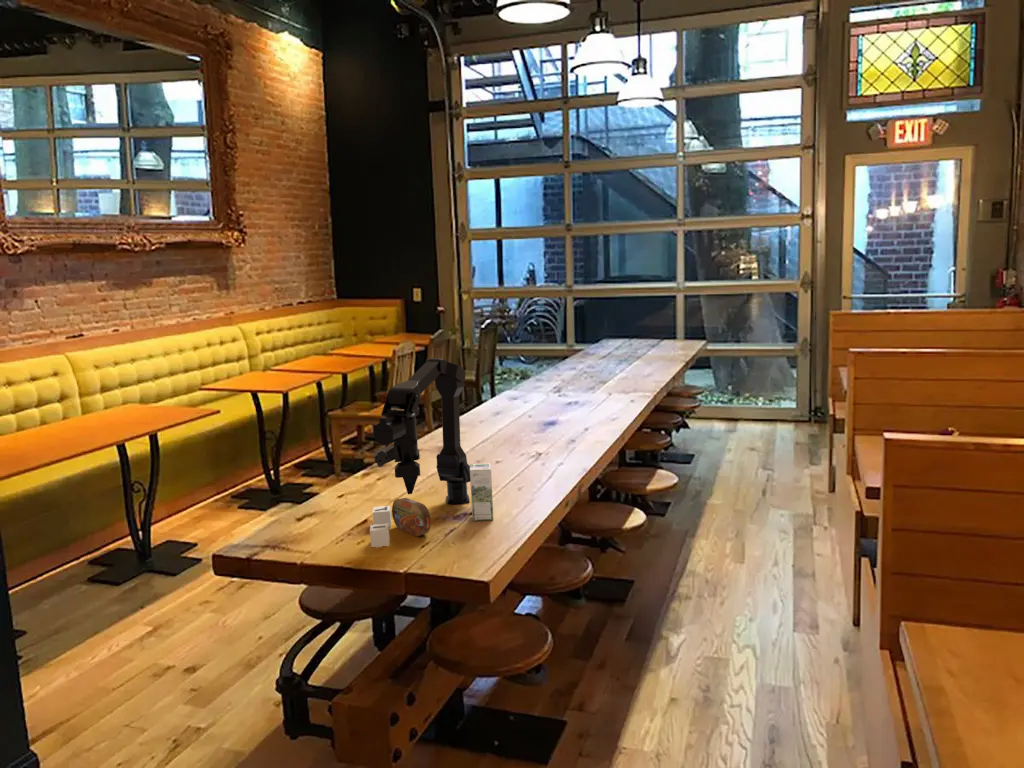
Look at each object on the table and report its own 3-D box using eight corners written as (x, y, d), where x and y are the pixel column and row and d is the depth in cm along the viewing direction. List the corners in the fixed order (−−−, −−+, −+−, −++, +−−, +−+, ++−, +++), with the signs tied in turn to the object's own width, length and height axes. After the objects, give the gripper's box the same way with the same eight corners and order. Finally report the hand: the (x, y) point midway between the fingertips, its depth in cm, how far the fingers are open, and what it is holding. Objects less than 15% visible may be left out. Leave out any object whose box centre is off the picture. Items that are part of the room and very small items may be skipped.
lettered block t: (374, 522, 224) (373, 506, 223) (391, 521, 225) (390, 505, 224) (373, 528, 220) (372, 512, 219) (390, 527, 220) (389, 510, 220)
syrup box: (493, 513, 227) (490, 462, 225) (493, 520, 221) (491, 468, 219) (472, 514, 227) (469, 463, 224) (472, 521, 221) (469, 469, 219)
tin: (392, 526, 221) (389, 495, 220) (402, 523, 223) (399, 493, 222) (423, 540, 210) (421, 508, 208) (433, 537, 212) (431, 505, 210)
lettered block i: (372, 541, 211) (370, 524, 210) (389, 540, 211) (388, 522, 210) (371, 548, 206) (369, 530, 205) (389, 546, 207) (388, 529, 206)
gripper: (375, 429, 220) (380, 485, 223) (372, 447, 202) (377, 508, 205) (417, 426, 221) (421, 482, 224) (418, 443, 203) (422, 504, 206)
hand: (409, 493), depth 215 cm, fingers closed
